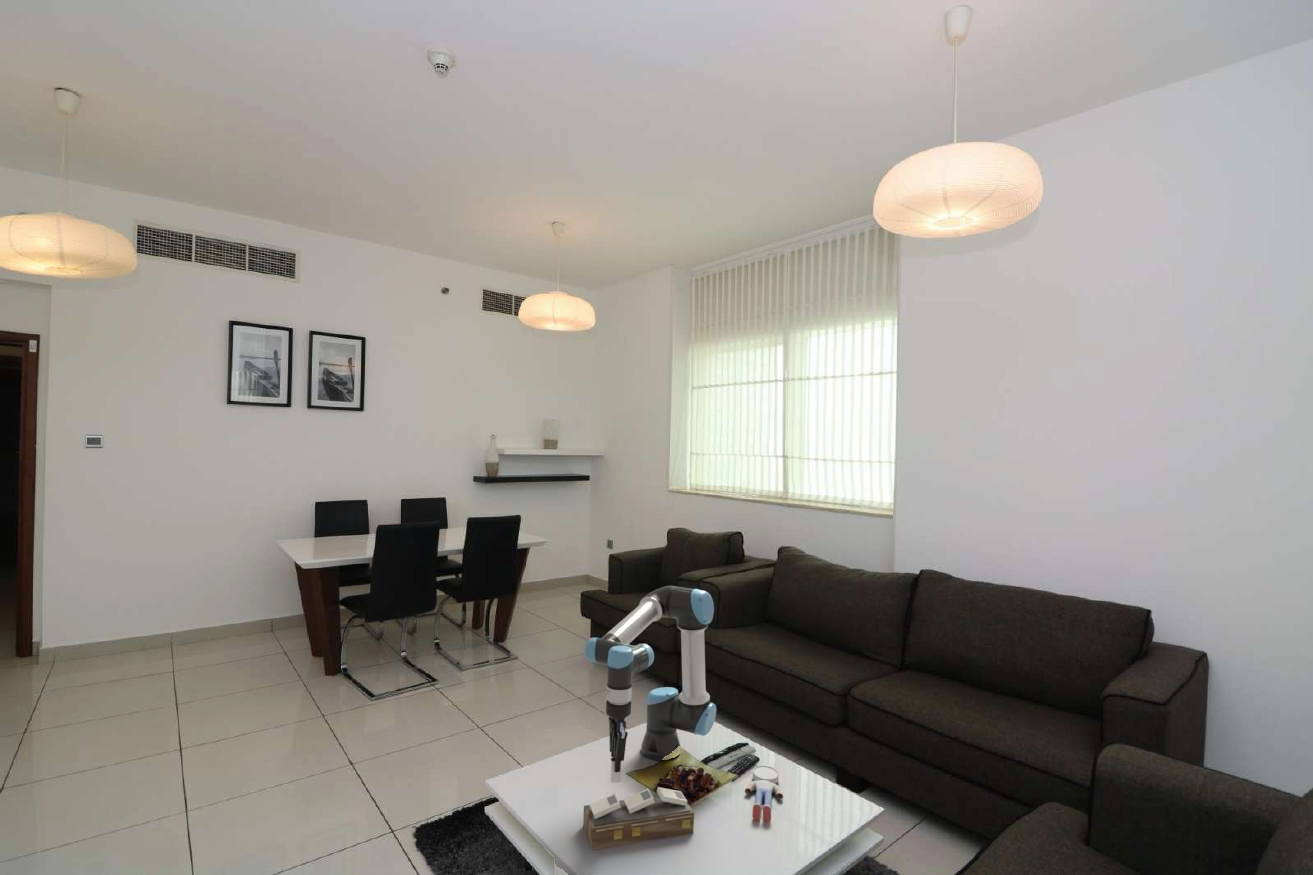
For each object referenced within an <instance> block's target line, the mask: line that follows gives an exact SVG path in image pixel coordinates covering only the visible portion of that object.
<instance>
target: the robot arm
mask: <svg viewBox="0 0 1313 875" xmlns="http://www.w3.org/2000/svg"><path fill="white" fill-rule="evenodd" d="M713 600H714V599H713V598H712V596H711V594H710V593H709V592H708V591H706V590H701V589H699V588H690V587H682V586H677V585H666V586H663V587H660V588H657V589H654V590H653V591H651V592H649V593H647V595H645V596H644V597H643V598H642V599H641V600H640V601H639V605H638V606H637V607H635V609H633V610H632V611H631V612H630V613H628V614H627V616H625V617H624V618H622V620H621V621H619V622H618V623H617V624H616V625H615V626H614V627H612V629H610V630H609V631H608V632H607V633H605V635H603V636H602V637H601V638H600V637H590V638H589V639H588V640H587V642H586V644H585V647H584V653H585V654H584V656H585V658H586V660H587V661H589V662H593V663H596V664H597V665H598V664H599V665H604V666H607V675H606V678H607V679H606V680H607V682H606V689H605V690H604V693H605V694H606V703H605V713H606V715H607V717H608V726H609V733H608V734H609V753H610V756H611V758H610V761H611V762H610V763H611V764H610V782H611V784H614V783H620V782H621V781H622V762H624V761H625V753H626V745H627V744H626V743H627V738H628V734H629V733H628V731H626V728H627V721H625V719H626V718H627V717H629V716H630V715H631V713H632V699H633V697H632V696H633V676H635V675H636V674H638V673H640V672H643V671H644V670H646V669H648V668H649V667H650V666H651V665H652V664H653V663H654V659H655V652H654V651H653V648H652V647H651V646H650V645H648V644H647V643H637V644H636V645H634V644H633V645H632V644H630V643H631V642H633V641H634V640H635V639H636V638H637V637H638V636H639V635H640V634H641V633H642V632H643V631H644V630H645V629H646V628H648V626H650V625H651V624H652V623H653V622H657V621H659V620H660V619H661V618H668V619H669V618H670V619H674V620H676V627H677V629H678V630H680V639H681V642H680V644H681V645H680V646H681V675H682V676H681V681H682V682H681V683H682V685H681V686H682V690H681V692H680V693H679V690H678V689H677V687H670V686H669V687H668V686H665V687H664V686H663V687H658V688H657V687H656V688H654V689H652V690H651V691H650V692H649V693H648V694H647V702H646V730H645V733H644V736H643V737H642V738H643V739H642V742H641V744H640V746H641V747H640V752H641V754H642V755H643V756H644V755H645V756H644V757H645V758H647V757H648V759H650V760H653V761H661V760H662V759H663V758H664V757H665V756H667V755H669V754H670V753H672V751H674V750H675V749H676V748H677V747H678V746H681V742H680V739H679V735H678V731H682V732H686V733H691V734H693V735H698V736H706V735H707V734H709V733H710V732H711V730H712V728H713V726H714V723H715V720H716V717H717V705H716V704H715V703H713V702H711V695H710V694H709V692H707V689H706V686H707V685H706V655H705V654H706V653H705V652H706V650H705V649H706V646H705V630H707V629H708V627H709V624H711V622H712V621H713V618H714V613H715V606H714V605H715V604H714V601H713ZM677 730H678V731H677Z"/></svg>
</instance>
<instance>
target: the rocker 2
mask: <svg viewBox="0 0 1313 875" xmlns="http://www.w3.org/2000/svg"><path fill="white" fill-rule="evenodd" d="M656 793H657V795H659V796H660V798H661V800H662V801H665V802H670V803H675V804H680V805H685V806H686V804H687V803H688V800H687V799H686V797H685V796H684V794H683V792H682V791H681V790H674V789H670V788H665V787H660V786H657V789H656Z"/></svg>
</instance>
